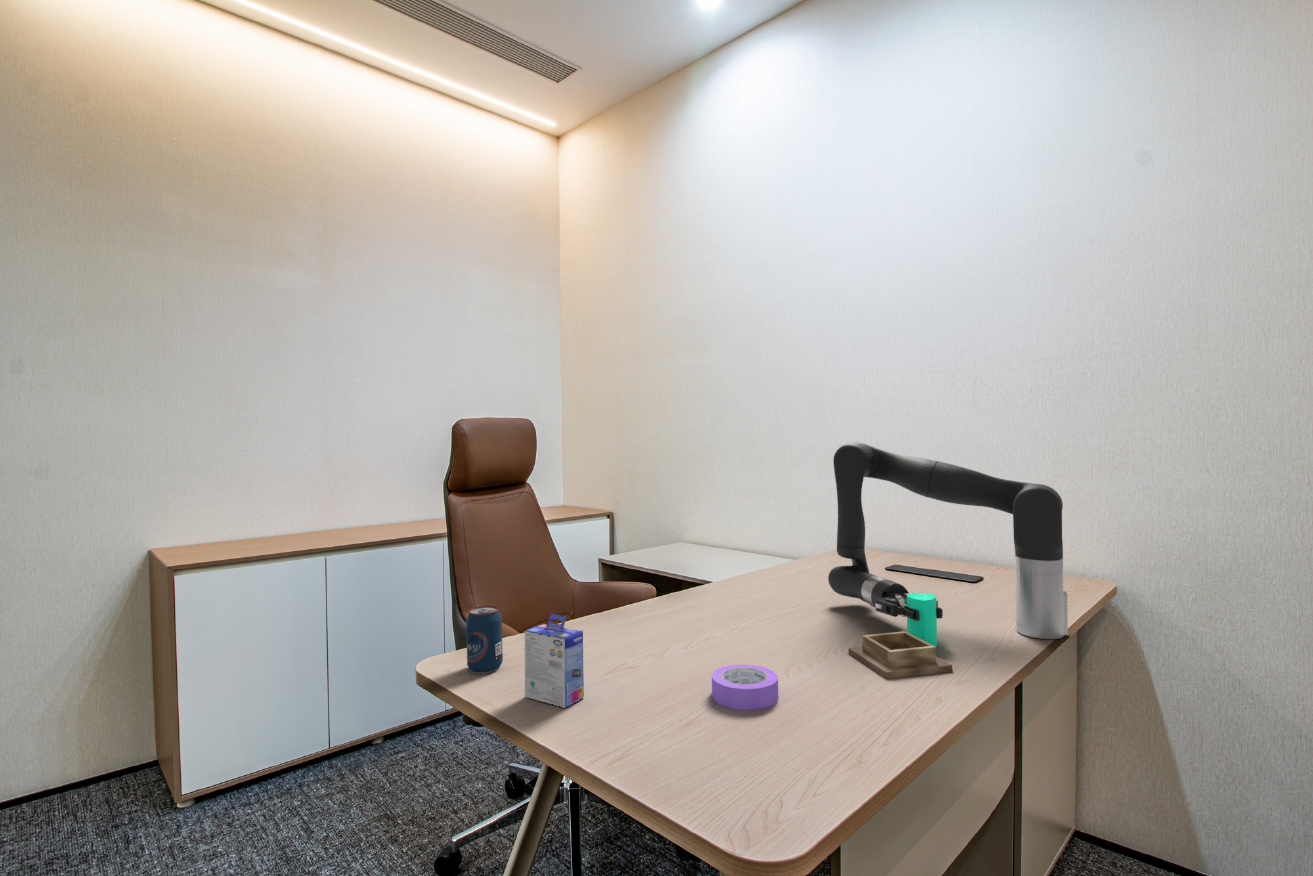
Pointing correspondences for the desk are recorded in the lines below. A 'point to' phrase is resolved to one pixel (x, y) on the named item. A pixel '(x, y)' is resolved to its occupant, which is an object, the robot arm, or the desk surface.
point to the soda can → (484, 639)
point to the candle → (923, 617)
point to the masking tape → (745, 687)
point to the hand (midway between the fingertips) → (929, 614)
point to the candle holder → (899, 655)
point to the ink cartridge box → (554, 663)
